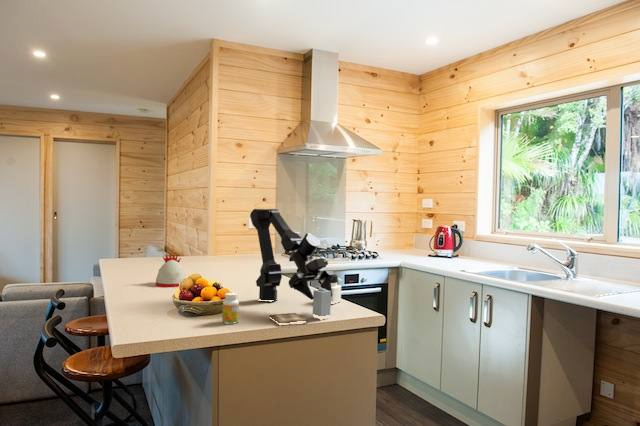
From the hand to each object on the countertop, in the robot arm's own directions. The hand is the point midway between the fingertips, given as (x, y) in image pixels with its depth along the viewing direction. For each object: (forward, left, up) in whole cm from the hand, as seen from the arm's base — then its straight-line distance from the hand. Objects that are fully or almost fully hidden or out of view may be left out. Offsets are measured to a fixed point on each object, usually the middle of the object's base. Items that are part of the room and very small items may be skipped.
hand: (322, 297), depth 168 cm
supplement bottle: (-26, -20, -8) cm, 34 cm away
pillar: (0, 0, -7) cm, 7 cm away
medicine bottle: (-5, +27, -8) cm, 29 cm away
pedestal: (-9, -10, -7) cm, 15 cm away
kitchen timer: (-84, +28, -8) cm, 89 cm away
